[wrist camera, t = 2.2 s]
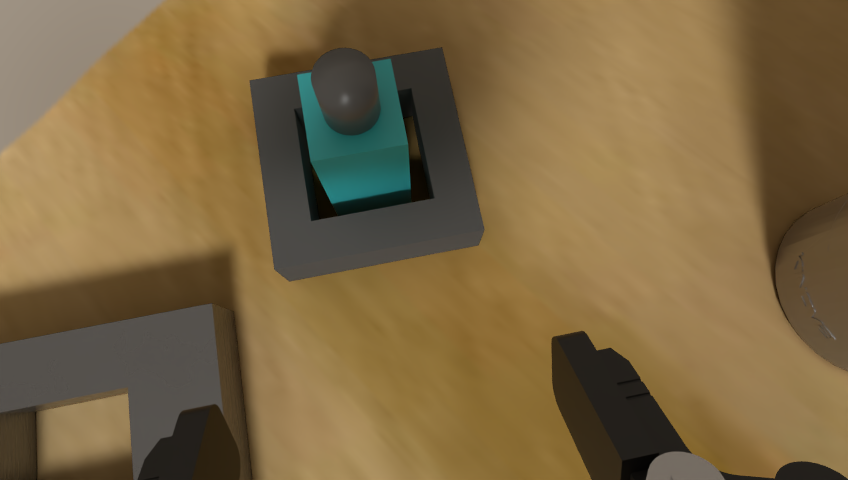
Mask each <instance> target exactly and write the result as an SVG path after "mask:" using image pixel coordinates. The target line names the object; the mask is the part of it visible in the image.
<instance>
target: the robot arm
mask: <svg viewBox="0 0 848 480" xmlns="http://www.w3.org/2000/svg"><path fill="white" fill-rule="evenodd" d="M775 274H776V287H777V291H778V295H779V299H780V303H781V305H782V308H783V310H784V312H785V314H786V316H787V318H788V320H789V322H790V324H791V325H792V326H793V328H794V329H795V331H796V332H797V333H798V335H799V336H800V337H801V339H802V340H803V341H804V342H805V343H806V344H807V345H808V346H809V347H810V348H812V349H813V350H814V351H815V352H816V353H817V354H818V355H820V356H821V357H823V358H824V359H826V360H827V361H829V362H830V363H832V364H833V365H835V366H837V367H839V368H842V369H844V370H846V371H848V194H846V195H843V196H841V197H839V198H837V199H835V200H832V201H830V202H828V203H826V204H824V205H822V206H819V207H817V208H815V209H813V210H811V211H809V212H807V213H806V214H805V215H803V216H802V217H801V218H799V219H798V220H797V221H796V222H795V223H794V224H793V225H792V226H791V228H790V229H789V230H788V231H787V233H786V234H785V236H784V238H783V240H782V243H781V245H780V247H779V249H778V254H777V260H776V265H775ZM552 383H553V390H554V395H555V398H556V402H557V405H558V407H559V410H560V412H561V414H562V416H563V418H564V420H565V423H566V425H567V427H568V429H569V431H570V433H571V436H572V438H573V440H574V442H575V444H576V446H577V449H578V451H579V453H580V455H581V457H582V459H583V462H584V464H585V466H586V468H587V470H588V472H589V475H590V477H591V479H592V480H848V479H847V478H846V477H844V476H843V475H841V474H840V473H838V472H836V471H834V470H833V469H831V468H828V467H826V466H823V465H820V464H817V463H812V462H802V461H801V462H792V463H789V464H786V465H784V466H783V467H782V468H780V469H779V471H778V472H777V474H776V477H775V479H774V478H762V477H751V476H739V475H732V474H728V473H724V472H721V471H718V470H717V468H715V467H714V466H713V465H712V464H711V463H709V462H708V461H706V460H705V459H703V458H701V457H699V456H696V455H694V454H692V453H691V452H690V451H689V449H688V448H687V447H686V445H685V444H684V442H683V441H682V439H681V438H680V436H679V435H678V434H677V432H676V431H675V429H674V428H673V426H672V425H671V423H670V422H669V420H668V419H667V417H666V416H665V414H664V413H663V411H662V410H661V408H660V407H659V405H658V404H657V402H656V401H655V399H654V398H653V396H651V395H650V392H649V390H648V389H647V387H646V386H645V384H644V383H643V382H641V380H640V377H639V375H638V374H637V372H636V371H635V369H634V368H633V366H632V365H631V363H630V362H629V361H628V360H627V359H625V358H624V357H622V356H621V355H620V354H618V353H617V352H615V351H614V350H613V349H611V348H608V349H603V350H598V351H597V350H596V349H595V347H594V345H593V344H592V342H591V340H590V339H589V337H588V336H587V334H586V333H585V332H584V331H580V332H575V333H570V334H565V335H560V336H555V337H553V338H552ZM240 469H241V464H240V455H239V450H238V447H237V444H236V442H235V440H234V438H233V436H232V434H231V431H230V429H229V427H228V425H227V423H226V421H225V418H224V416H223V414H222V412H221V410H220V408H219V407H218V405H216V404H212V405H207V406H202V407H197V408H192V409H187V410H183V411H181V412H180V414H179V416H178V419H177V422H176V425H175V429H174V432H173V435H172V436H170V437H165V438H160V440H159V441H158V442H157V444H156V445H155V446H154V448H153V449H152V450H151V452H150V453H149V454H148V455H147V457H146V458H145V459H144V462H143V465H142V468H141V471H140V474H139V477H138V479H137V480H239V478H240Z"/></svg>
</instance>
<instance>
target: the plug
mask: <svg viewBox="0 0 848 480" xmlns="http://www.w3.org/2000/svg"><path fill="white" fill-rule="evenodd" d="M297 78H298V84H299V91H300V97H301V103H302V110H303V116H304V123H305V129H306V135H307V142H308V148H309V155H310V161H311V163H312V165H313V167H314V169H315V171H316V173H317V175H318V177H319V179H320V181H321V183H322V185H323V187H324V189H325V191H326V193H327V195H328V197H329V199H330V201H331V203H332V205H333V207H334V209H335V211H336V213H337V215H338V216H342V215H347V214H353V213H358V212H363V211H369V210H374V209H380V208H385V207H390V206H396V205H401V204H406V203H412V200H411V183H410V166H409V150H408V141H407V136H406V131H405V126H404V121H403V116H402V112H401V107H400V102H399V97H398V92H397V87H396V82H395V78H394V73H393V68H392V63H391V59H386V60H380V61H374V62H371V60H370V59H369V58H368V57H367V56H366V55H365V54H363V53H362V52H360V51H358V50H355V49H351V48H338V49H334V50H331V51H329V52H327V53H325V54H324V55H322V56H321V57H320V58H319V59H318V60H317V61H316V63H315V64H314V66H313V69H312V72H310V73H304V74H299V75H297Z"/></svg>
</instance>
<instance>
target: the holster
mask: <svg viewBox="0 0 848 480" xmlns="http://www.w3.org/2000/svg"><path fill="white" fill-rule="evenodd" d="M386 59H391V63H392V68H393V73H394V78H395V82H396V87H397V92H398V97H399V102H400V107H401V112H402V116H403V117H408V116H413V121H414V126H415V131H416V135H417V140H418V145H419V150H420V154H421V159H422V164H423V169H424V173H425V178H426V183H427V188H428V192H429V197H430V199H428V200H422V201H417V202H412V203H406V204H401V205H396V206H390V207H385V208H380V209H374V210H369V211H363V212H358V213H353V214H347V215H342V216H337V217H331V218H326V219H321V220H319V215H318V208H317V202H316V195H315V189H314V182H313V176H312V170H311V163H310V157H309V150H308V144H307V138H306V129H305V123H304V116H303V110H302V103H301V97H300V91H299V84H298V78H297V75H299V74H304V73H310V72H312V70H308V71H302V72H296V73H291V74H285V75H279V76H273V77H267V78H262V79H256V80H250V88H251V95H252V103H253V111H254V118H255V126H256V133H257V141H258V149H259V156H260V164H261V171H262V179H263V186H264V194H265V202H266V209H267V217H268V224H269V232H270V240H271V247H272V255H273V262H274V270H275V271H277V272H278V273H279V274H281V275H282V276H283V277H284V278H286V279H287V280H288V281H294V280H299V279H304V278H310V277H315V276H320V275H325V274H331V273H336V272H341V271H346V270H351V269H357V268H362V267H367V266H372V265H378V264H383V263H388V262H393V261H398V260H404V259H409V258H414V257H419V256H425V255H430V254H435V253H440V252H445V251H451V250H456V249H461V248H466V247H472V246H477V245H479V242H480V240H481V237H482V235H483V232H484V226H483V221H482V217H481V213H480V208H479V204H478V200H477V195H476V191H475V187H474V183H473V178H472V174H471V170H470V165H469V161H468V157H467V153H466V148H465V144H464V140H463V135H462V131H461V127H460V122H459V118H458V114H457V110H456V105H455V101H454V97H453V92H452V88H451V84H450V80H449V75H448V71H447V67H446V62H445V58H444V54H443V49H442V47H441V48H435V49H430V50H424V51H418V52H412V53H407V54H401V55H395V56H389V57H383V58H378V59H372V60H371V62H374V61H380V60H386Z"/></svg>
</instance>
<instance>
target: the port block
mask: <svg viewBox="0 0 848 480" xmlns="http://www.w3.org/2000/svg"><path fill="white" fill-rule="evenodd" d="M126 393H128V398H129V414H130V430H131V447H132V463H133V480H137V479H138V477H139V474H140V471H141V468H142V465H143V462H144V459H145V458H146V457H147V455H148V454H149V453H150V452H151V450H152V449H153V448H154V446H155V445H156V444H157V442H158V441H159V440H160V438H165V437H170V436H172V435H173V432H174V429H175V425H176V422H177V419H178V416H179V414H180V412H181V411H183V410H187V409H192V408H197V407H202V406H207V405H212V404H216V405H218V407H219V408H220V410H221V412H222V414H223V416H224V418H225V421H226V423H227V425H228V427H229V429H230V431H231V434H232V436H233V438H234V440H235V442H236V444H237V447H238V450H239V455H240V464H241V469H240V478H239V480H252V473H251V464H250V455H249V446H248V437H247V428H246V419H245V410H244V401H243V392H242V383H241V374H240V365H239V356H238V347H237V338H236V329H235V320H234V312H233V311H231V310H228V309H226V308H223V307H220V306H218V305H215V304H213V303H211V304H205V305H200V306H195V307H190V308H185V309H179V310H174V311H169V312H164V313H158V314H153V315H148V316H143V317H138V318H132V319H127V320H122V321H117V322H112V323H106V324H101V325H96V326H91V327H86V328H80V329H75V330H70V331H65V332H60V333H54V334H49V335H44V336H39V337H34V338H28V339H23V340H18V341H13V342H8V343H2V344H0V480H37V468H36V419H35V412H36V411H41V410H46V409H51V408H56V407H61V406H66V405H71V404H76V403H81V402H86V401H91V400H96V399H101V398H106V397H111V396H116V395H121V394H126Z"/></svg>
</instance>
